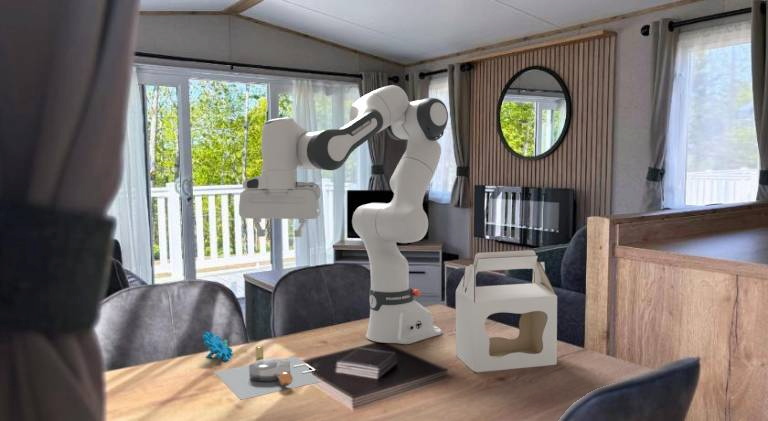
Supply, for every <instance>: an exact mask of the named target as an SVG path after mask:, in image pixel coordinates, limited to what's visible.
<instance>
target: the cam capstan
mask: <svg viewBox="0 0 768 421" xmlns="http://www.w3.org/2000/svg"><path fill="white" fill-rule="evenodd" d="M249 376H250V379H251V380H254V381H278V382H279V383H280V384H281V385H283V386H288V385H289V384H291V382H292V375H291V374H290V361H289V360H287V359H284V358H282V357H268V358H264V346H262V345H258V346H255V361H254V362H252V363H250V364H249Z"/></svg>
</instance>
